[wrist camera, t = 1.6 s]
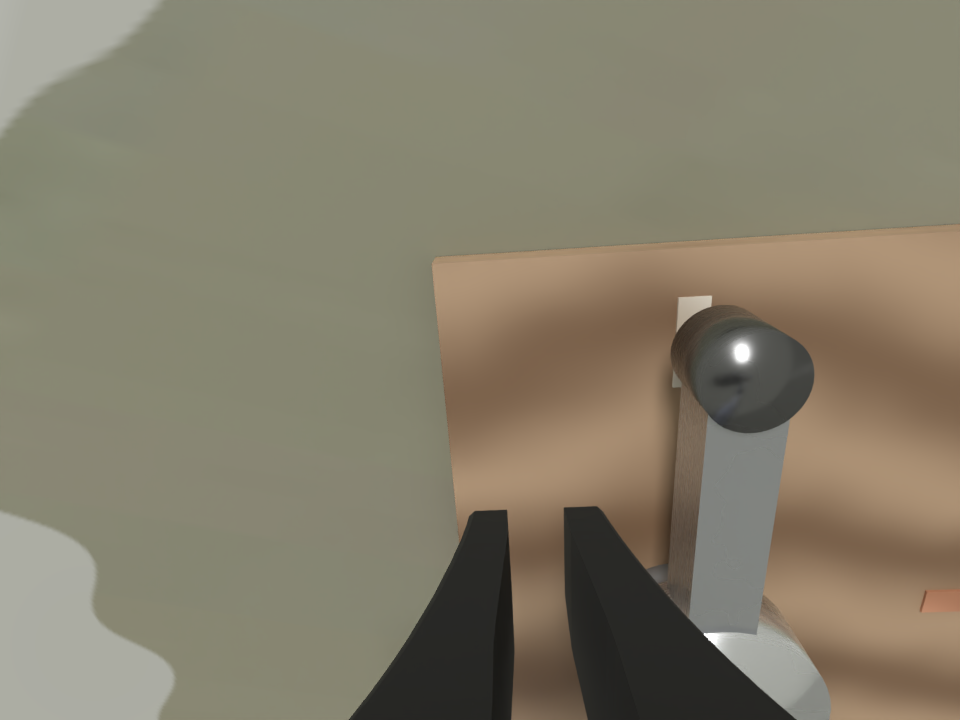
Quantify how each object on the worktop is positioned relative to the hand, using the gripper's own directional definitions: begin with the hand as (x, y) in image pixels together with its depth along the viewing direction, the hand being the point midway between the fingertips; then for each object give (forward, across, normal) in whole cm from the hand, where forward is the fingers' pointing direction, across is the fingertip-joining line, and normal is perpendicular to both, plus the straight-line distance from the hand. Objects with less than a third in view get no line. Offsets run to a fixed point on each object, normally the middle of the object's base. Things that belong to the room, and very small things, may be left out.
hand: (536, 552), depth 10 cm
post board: (+9, -9, +7) cm, 14 cm away
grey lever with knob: (+6, -6, +5) cm, 10 cm away
